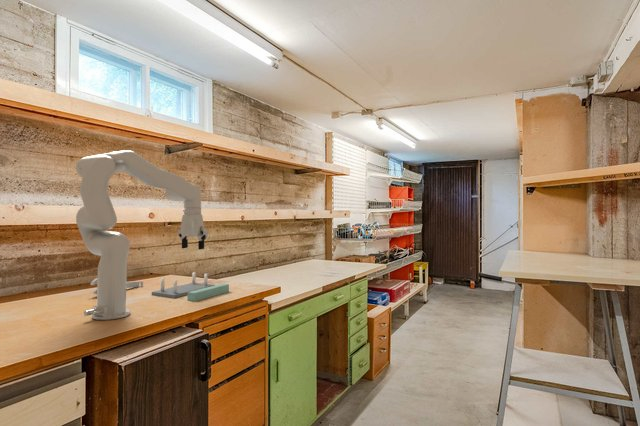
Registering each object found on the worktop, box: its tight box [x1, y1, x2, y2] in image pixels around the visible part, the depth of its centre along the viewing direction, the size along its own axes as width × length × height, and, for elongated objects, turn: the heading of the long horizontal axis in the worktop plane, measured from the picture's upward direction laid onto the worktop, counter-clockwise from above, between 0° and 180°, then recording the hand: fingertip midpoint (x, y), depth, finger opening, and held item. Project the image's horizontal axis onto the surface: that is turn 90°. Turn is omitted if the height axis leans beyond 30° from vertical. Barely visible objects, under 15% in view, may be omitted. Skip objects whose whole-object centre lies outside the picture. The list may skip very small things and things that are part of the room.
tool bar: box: [187, 283, 230, 302], centre depth 177 cm, size 24×4×4 cm, turn 155°
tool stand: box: [151, 271, 215, 299], centre depth 186 cm, size 28×14×8 cm, turn 156°
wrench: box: [89, 277, 144, 295], centre depth 182 cm, size 8×2×30 cm
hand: (193, 248), depth 173 cm, fingers open, 9 cm apart
